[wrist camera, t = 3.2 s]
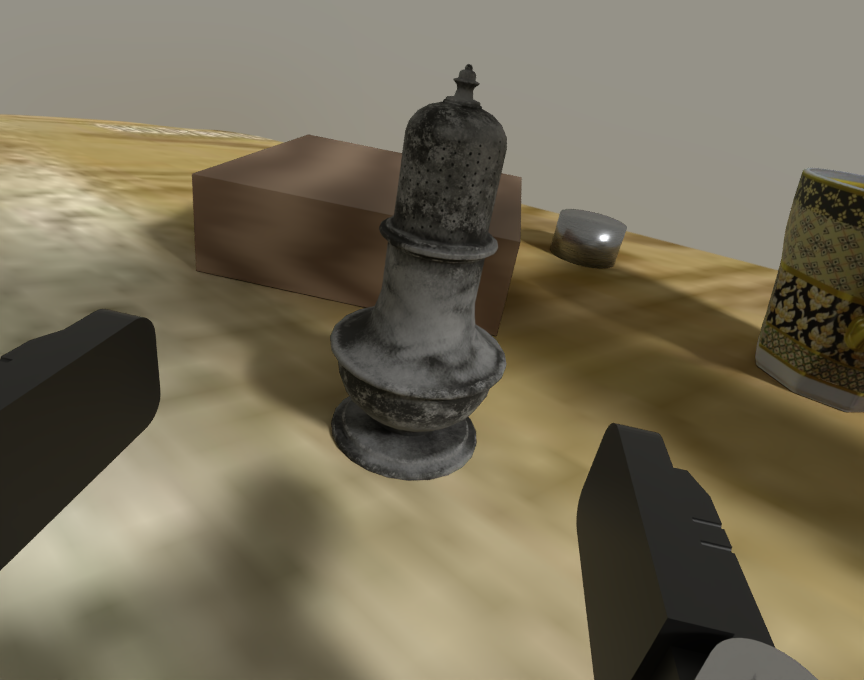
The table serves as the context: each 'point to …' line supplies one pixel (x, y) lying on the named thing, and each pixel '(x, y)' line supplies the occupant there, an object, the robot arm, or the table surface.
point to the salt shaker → (427, 302)
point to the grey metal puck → (587, 238)
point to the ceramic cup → (820, 294)
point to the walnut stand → (326, 223)
